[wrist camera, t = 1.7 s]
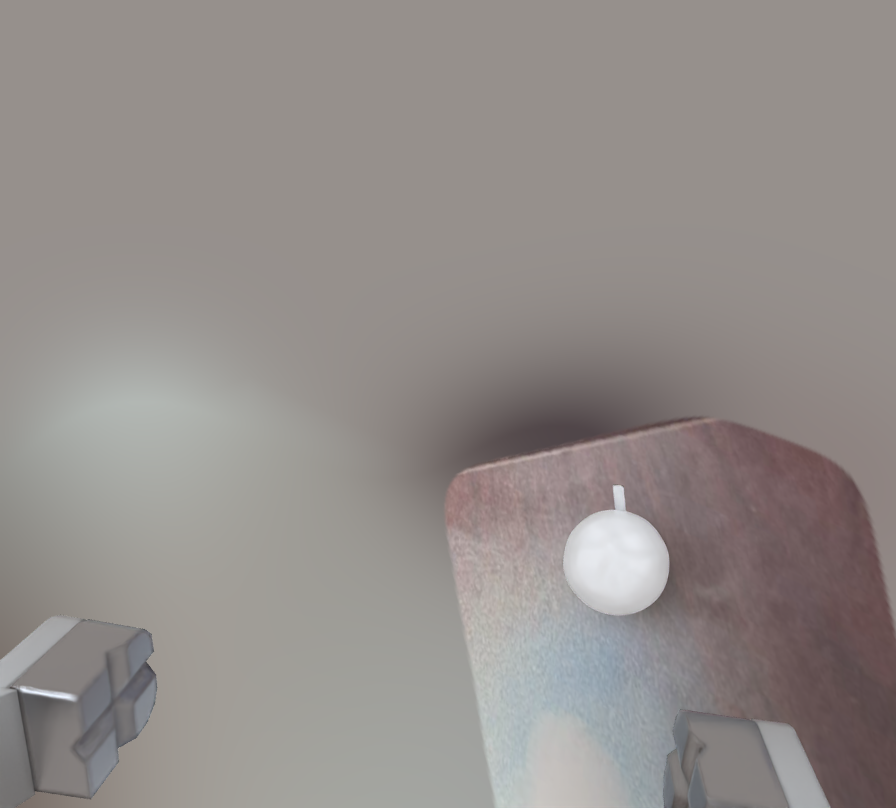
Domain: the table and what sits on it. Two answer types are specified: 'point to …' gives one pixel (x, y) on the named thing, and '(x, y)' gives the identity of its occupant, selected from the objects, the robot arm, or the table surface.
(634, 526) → the milkshake
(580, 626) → the table surface
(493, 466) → the table surface
